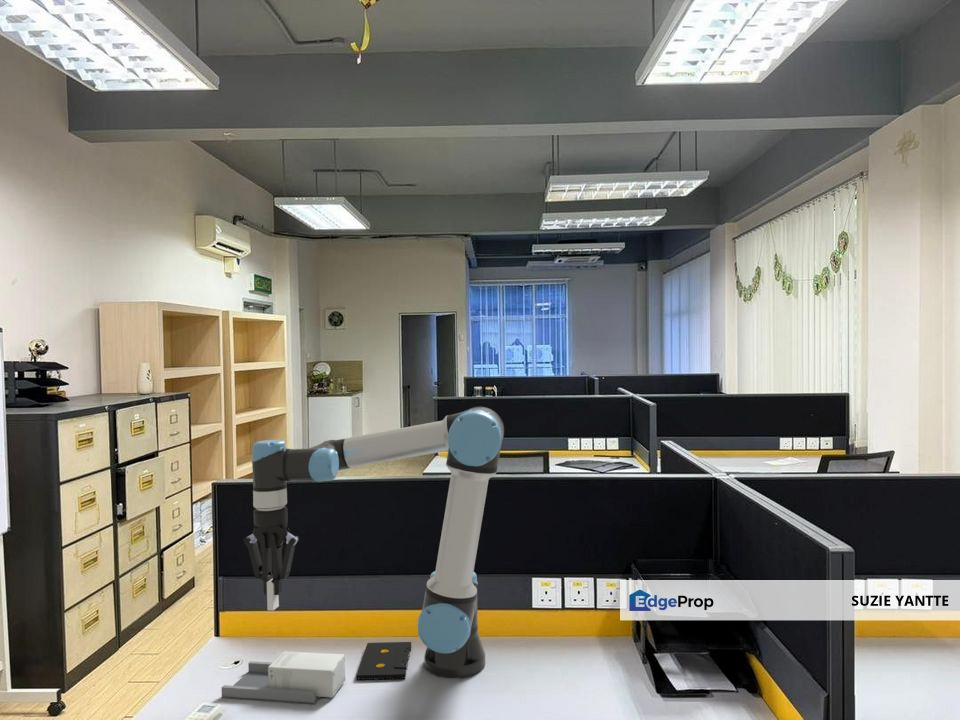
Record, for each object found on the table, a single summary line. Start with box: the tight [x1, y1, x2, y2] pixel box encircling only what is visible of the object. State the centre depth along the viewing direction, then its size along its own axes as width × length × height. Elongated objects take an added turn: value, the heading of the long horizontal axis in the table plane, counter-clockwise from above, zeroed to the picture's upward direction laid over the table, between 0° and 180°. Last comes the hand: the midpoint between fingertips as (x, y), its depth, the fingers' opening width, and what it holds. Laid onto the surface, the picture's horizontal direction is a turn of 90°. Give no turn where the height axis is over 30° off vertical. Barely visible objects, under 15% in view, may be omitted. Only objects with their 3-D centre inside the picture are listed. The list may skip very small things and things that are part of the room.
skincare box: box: [268, 650, 346, 698], centre depth 152 cm, size 8×7×16 cm
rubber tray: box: [221, 660, 321, 706], centre depth 154 cm, size 22×13×2 cm, turn 81°
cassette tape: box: [355, 641, 412, 682], centre depth 165 cm, size 18×12×2 cm, turn 1°
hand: (273, 608), depth 154 cm, fingers closed
